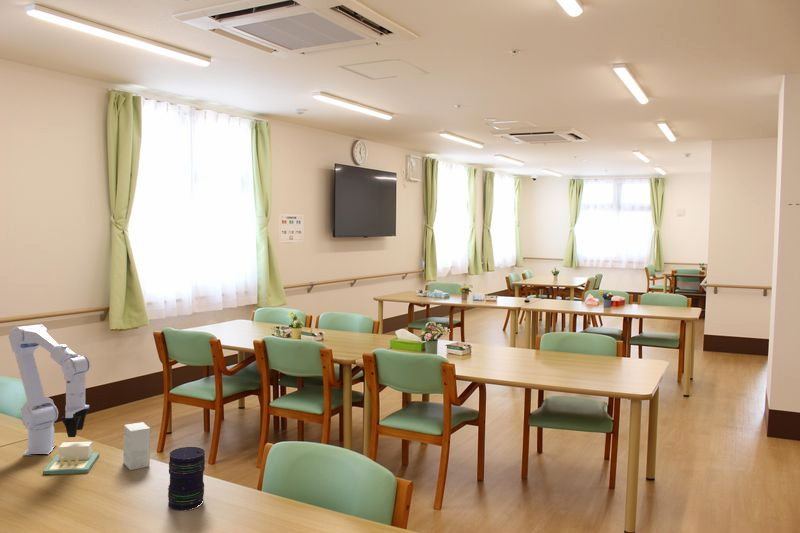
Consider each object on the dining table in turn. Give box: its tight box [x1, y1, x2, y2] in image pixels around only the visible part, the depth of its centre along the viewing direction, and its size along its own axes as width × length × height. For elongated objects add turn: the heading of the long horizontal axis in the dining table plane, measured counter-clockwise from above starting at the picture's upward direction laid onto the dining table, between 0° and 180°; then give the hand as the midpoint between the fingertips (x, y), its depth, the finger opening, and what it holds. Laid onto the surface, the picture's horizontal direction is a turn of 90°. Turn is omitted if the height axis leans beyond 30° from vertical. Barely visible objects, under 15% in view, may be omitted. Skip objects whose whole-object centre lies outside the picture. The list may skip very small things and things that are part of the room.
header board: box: [42, 452, 100, 475], centre depth 200 cm, size 15×13×4 cm
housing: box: [58, 441, 93, 461], centre depth 204 cm, size 5×9×4 cm, turn 103°
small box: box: [122, 421, 151, 471], centre depth 203 cm, size 8×6×13 cm
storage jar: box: [167, 446, 206, 512], centre depth 176 cm, size 10×10×15 cm
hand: (75, 433), depth 203 cm, fingers open, 7 cm apart
